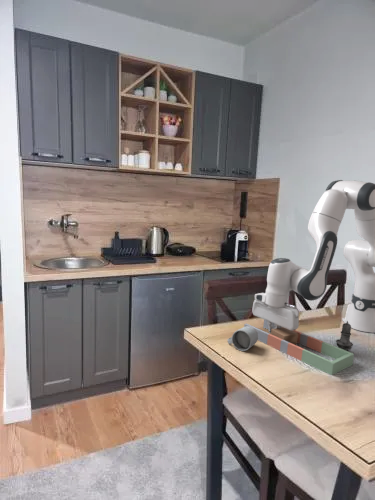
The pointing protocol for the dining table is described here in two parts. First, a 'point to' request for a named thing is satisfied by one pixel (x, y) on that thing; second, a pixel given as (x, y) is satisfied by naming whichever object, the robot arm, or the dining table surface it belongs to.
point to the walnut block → (285, 335)
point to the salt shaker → (345, 338)
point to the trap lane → (323, 364)
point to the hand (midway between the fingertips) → (272, 333)
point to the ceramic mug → (244, 338)
